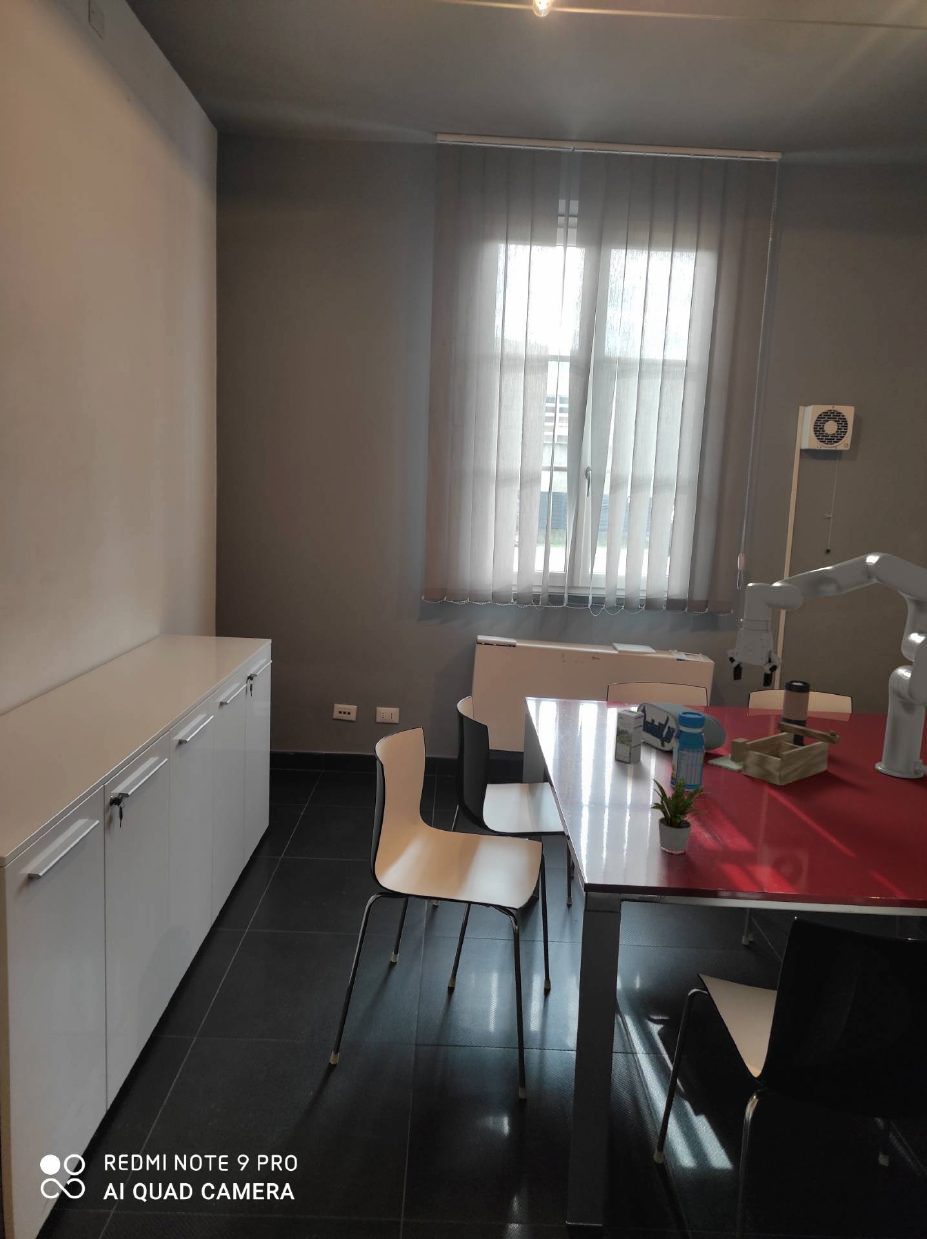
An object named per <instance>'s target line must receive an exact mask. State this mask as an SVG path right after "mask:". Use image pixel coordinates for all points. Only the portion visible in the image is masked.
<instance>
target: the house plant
mask: <svg viewBox="0 0 927 1239" xmlns="http://www.w3.org/2000/svg"><path fill="white" fill-rule="evenodd" d="M673 780H674V778H673ZM652 781H653V782H654V783H655V785H656V787H657V788H658V790H659V791H658V790H657V789H655V788H653V791H655V792H656V793H657V795H658V796H659V797H660V803H658V802H653V806H652V807H650V808H649V810H651V809H653V810H659V811H661V813H662V815H663V817H660V818H659V819H658V831H659V844H660V845H661V846H660V845H659V846H660V848H661V847H663V848H665V849H667V850H671V851H682V850H685V851H686V848H687V845H688V842H689V838H690V833H691V829H692V826H693V824H692V823H691V821H689V819H691V818H693V817H694V816H695V815H697V814H700V813H701V814H703V815H705V813H709V811H707V810H700V809H695V808H694V809H693V807H695V805H693V804H694V803H696V802H697V801H698V802H699V801H705V799H703V798H698V799H695V798H696V797H698V796H699V795H702V794H713V792H711V791H703V790H704V789H703V787H706V786H707V785H708V784H702V786H699V787H697V788H696V789H694V790H693V791H684V790H685V782H684V778H683V777H682V778H681V779H680V780H679V781H678V784H677V785H676V782H675V780H674V785H675V788H674V792H673V793H672V794H671V796H670V795H669V796H668V795H667V793H666V790H665V789H664V787H663V786H662V785H661V784H660V782H658V780H656V779H654V778H652ZM701 791H702V792H701ZM687 794H688V795H687ZM685 795H687V796H685ZM691 808H692V809H691ZM692 812H693V813H694V812H696V813H694V814H692V815H691V816H690V817H688V814H690V813H692ZM704 812H705V813H704ZM687 817H688V818H687Z"/></svg>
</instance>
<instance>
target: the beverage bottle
mask: <svg viewBox="0 0 927 1239" xmlns="http://www.w3.org/2000/svg"><path fill="white" fill-rule="evenodd" d="M704 724H705V716H704V715H703V714H700V713H696V712H681V713H679V719H678V725H679V726H680V728H679V729H678V730H677V732H676V734H675V736H674V740H675V743H674V744H673V751H672V764H671V765H672V766H671V776H670V782H669V783H670V786H671V787H672V788H673V789H675V785H674V780H675V782H676V785H677V784H678V781H679V780H680V779H681V778H682V777H683V778H684V782H685V790H684V792H691V791H693V790H694V789H696V788H697V787H699V786H702V785H703V772H704V769H703V768H704V760H705V754H706V751H705V747H704V744H705V743H706V739H705V735H704V733H703V731H702V730H701V729H703V728H704ZM673 778H674V780H673Z"/></svg>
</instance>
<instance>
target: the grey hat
mask: <svg viewBox="0 0 927 1239" xmlns="http://www.w3.org/2000/svg"><path fill="white" fill-rule="evenodd" d="M636 712H641V713H644V719H643V731H642V741H644V742H645V743H647V744H649V745H650V746H652V747H654V748H656V749H658V750H661V751H664V752H670V751H671V752H673V744H674V743H675V740H674V736H675V734H676V732H677V730H678V729H679V728H680V726H679V725H678V719H679V713H681V712H696V713H700V714H703V715H704V716H705V724H704V728H703V729H701V730H702V731H703V733H704V735H705V739H706V743H705V744H704V747H705V752H706V751H707V752H708V751H714V750H717V749H720V748H721V747H723V745H724V744H725V743H726V741H727V740H726V739H727V733H726V730H725V728H724V726H723V724H722V723H721V721H719V720H718V719H716V717H714V716H712V715H710V714H707V713H704V712H701V711H699V710H695V709H692V708H689V707H688V706H684V705H683V704H682V703H674V702H673V703H671V702H642V703H640V704H639V705H638V707H637V709H636Z"/></svg>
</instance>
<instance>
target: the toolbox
mask: <svg viewBox="0 0 927 1239" xmlns="http://www.w3.org/2000/svg"><path fill="white" fill-rule="evenodd" d="M793 739H794V733H790V732H784V733H777V734H773V735H770V736H765V737H762V738H758V739H754V740H751V741H749V742H747V743H745V750H744V760H743V770H741V773H742V775H746V776H750V777H753V778H755V779H758V780H760V781H761V780H762V781H765V782H768V783H771V784H774V785H777V786H780V785H782V786H784V785H787V783H788V784H790V783H793V781H794V782H796V781H799V780H802V779H805V778H808V777H810V776H813V775H817V774H819V773H822V772H825V770H826V771H827V769H828V768H827V767H828V758H829V750H830V748H829V747H830V743H828V742H824V741H821V740H819V741H817V742H814V743H810V744H808V745H804V746H803V745H802V746H797V745H793Z"/></svg>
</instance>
